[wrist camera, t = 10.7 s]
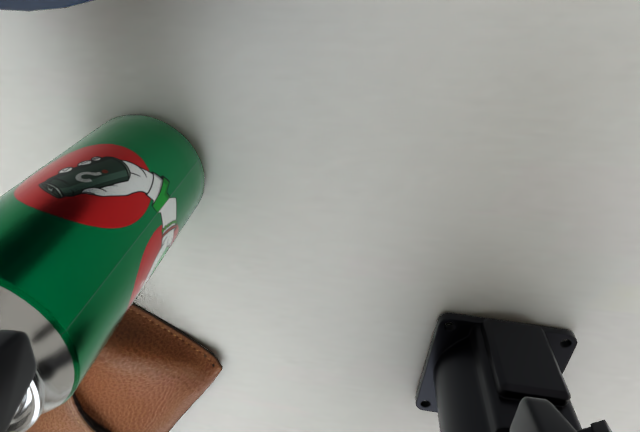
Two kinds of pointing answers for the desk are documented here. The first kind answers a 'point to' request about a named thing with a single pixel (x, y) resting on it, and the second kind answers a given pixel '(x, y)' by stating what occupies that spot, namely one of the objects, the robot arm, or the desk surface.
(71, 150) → the soda can
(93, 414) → the sunglasses case
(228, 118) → the desk surface
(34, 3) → the pot lid
